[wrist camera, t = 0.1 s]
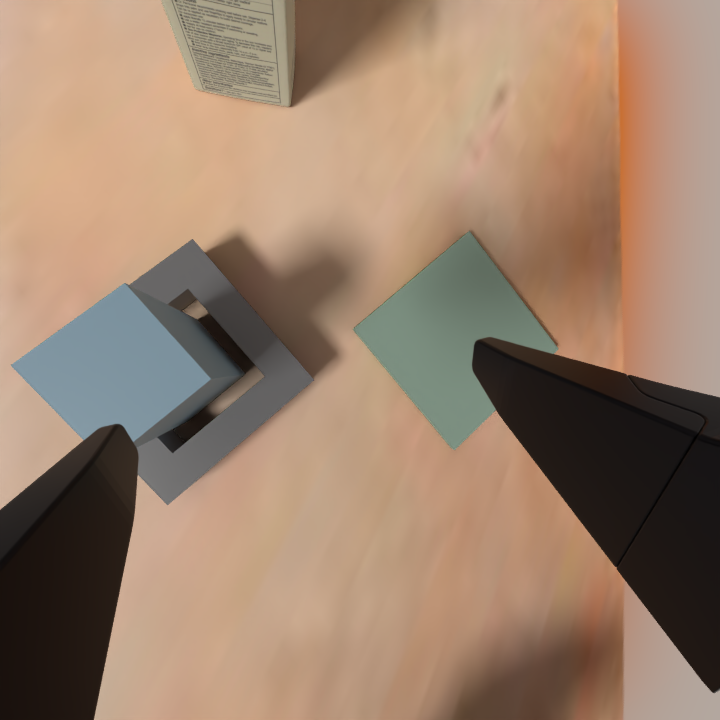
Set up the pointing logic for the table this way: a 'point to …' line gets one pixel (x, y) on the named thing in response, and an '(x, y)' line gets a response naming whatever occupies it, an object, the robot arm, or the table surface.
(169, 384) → the tall square blue prism
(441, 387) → the green mat
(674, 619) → the robot arm
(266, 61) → the skincare box
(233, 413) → the square socket block
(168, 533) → the table surface
